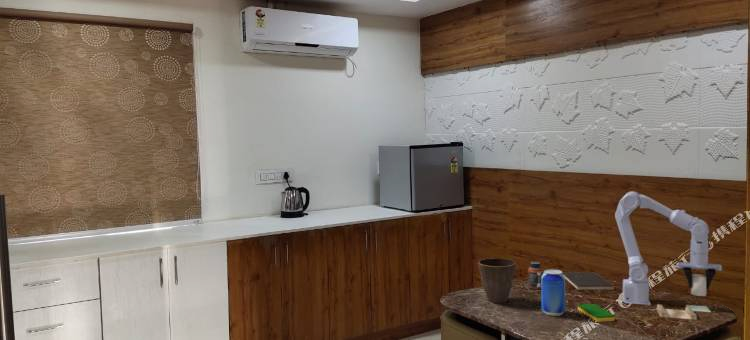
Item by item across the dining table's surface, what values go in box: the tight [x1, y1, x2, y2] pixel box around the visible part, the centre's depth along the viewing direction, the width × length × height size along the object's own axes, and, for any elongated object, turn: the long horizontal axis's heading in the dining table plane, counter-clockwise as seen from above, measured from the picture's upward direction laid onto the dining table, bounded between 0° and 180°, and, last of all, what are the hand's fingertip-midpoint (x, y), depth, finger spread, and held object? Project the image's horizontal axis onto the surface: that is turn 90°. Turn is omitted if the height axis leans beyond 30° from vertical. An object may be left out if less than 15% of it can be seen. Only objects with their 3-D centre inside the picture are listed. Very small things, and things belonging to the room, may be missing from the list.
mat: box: [685, 304, 712, 313], centre depth 201 cm, size 7×7×1 cm
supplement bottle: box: [527, 261, 543, 290], centre depth 234 cm, size 6×6×11 cm
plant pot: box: [478, 257, 516, 304], centre depth 217 cm, size 15×15×16 cm
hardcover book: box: [562, 271, 616, 291], centre depth 241 cm, size 16×23×2 cm
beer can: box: [541, 268, 566, 317], centre depth 201 cm, size 8×8×16 cm
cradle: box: [655, 303, 699, 321], centre depth 196 cm, size 12×10×2 cm
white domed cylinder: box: [690, 273, 707, 297], centre depth 201 cm, size 5×6×7 cm
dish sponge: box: [577, 303, 615, 323], centre depth 198 cm, size 7×14×2 cm, turn 7°
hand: (698, 287), depth 201 cm, fingers closed on white domed cylinder, 5 cm apart
